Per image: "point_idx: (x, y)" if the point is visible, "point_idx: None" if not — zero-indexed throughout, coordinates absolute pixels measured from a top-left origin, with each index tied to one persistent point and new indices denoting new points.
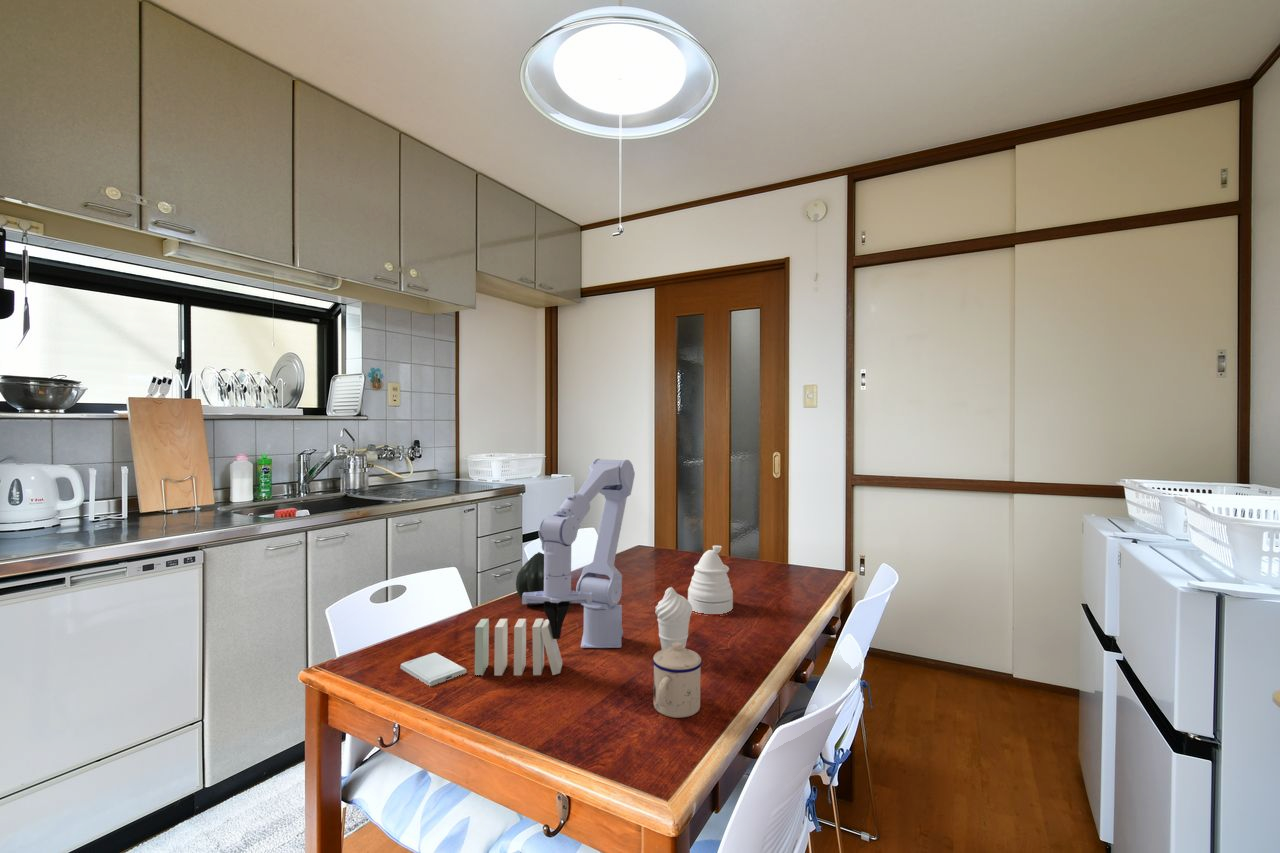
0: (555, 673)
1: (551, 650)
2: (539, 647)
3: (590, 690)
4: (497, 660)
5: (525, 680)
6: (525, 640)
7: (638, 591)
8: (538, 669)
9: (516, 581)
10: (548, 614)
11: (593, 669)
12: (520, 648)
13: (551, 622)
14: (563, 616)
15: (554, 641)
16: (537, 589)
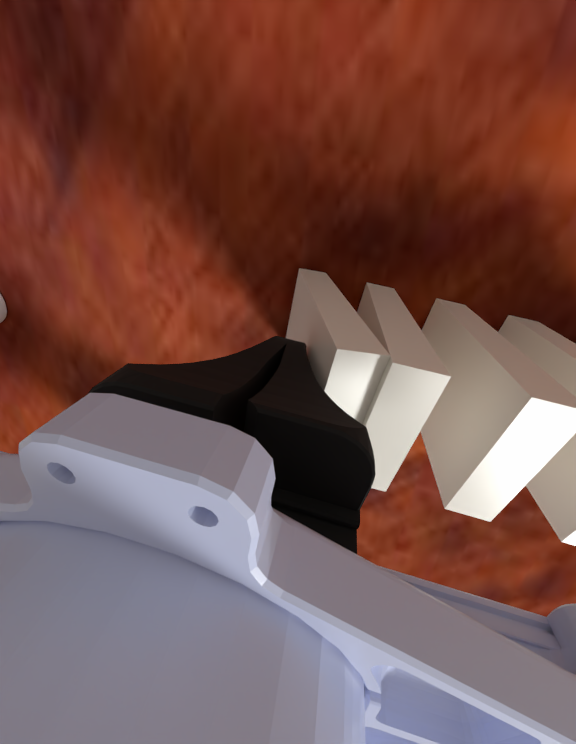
0: (315, 271)
1: (322, 297)
2: (381, 314)
3: (194, 92)
4: (561, 341)
5: (432, 250)
6: None
7: None
8: (376, 289)
9: None
10: (323, 406)
11: (191, 285)
12: (478, 337)
13: (304, 377)
14: (194, 366)
15: None
16: None
